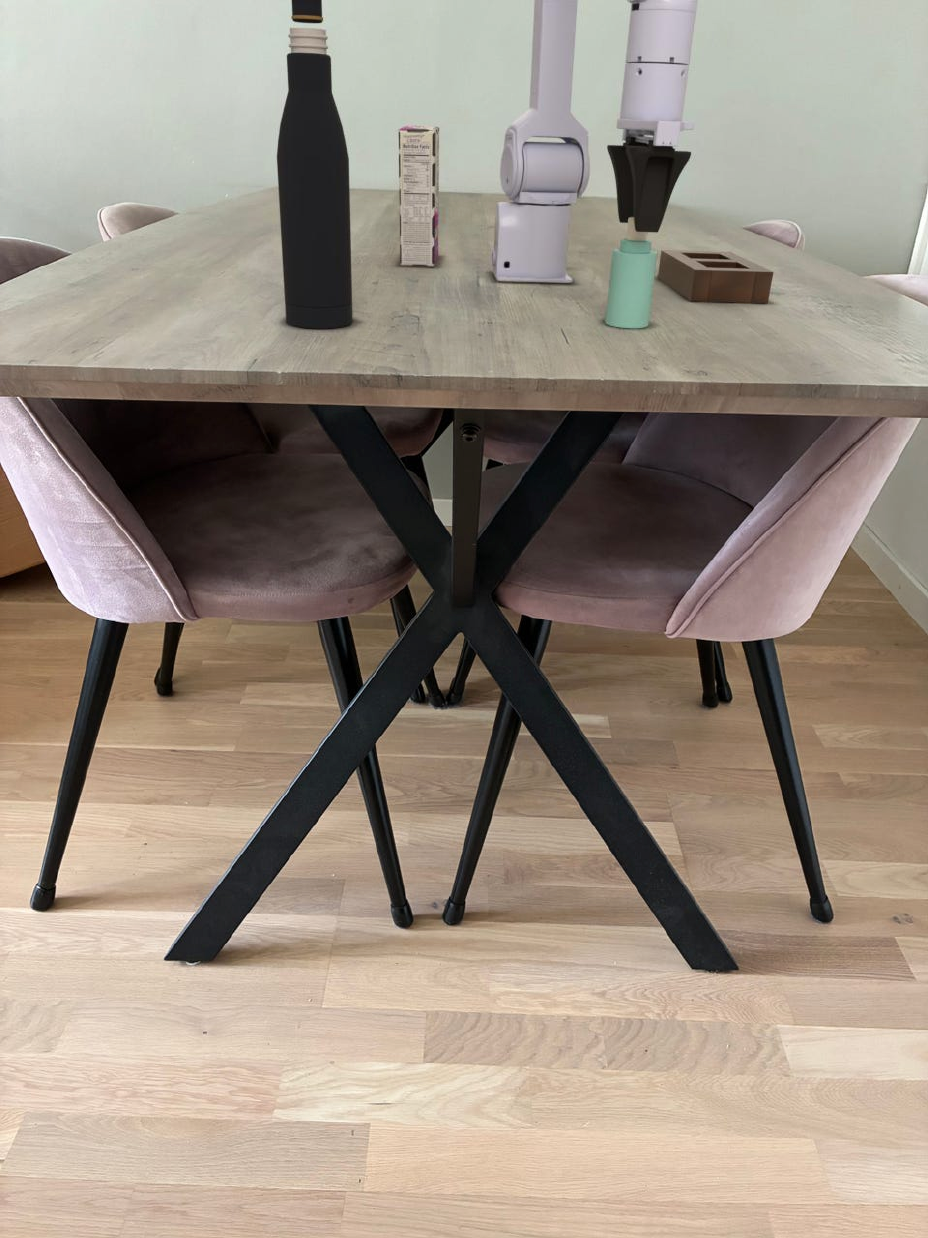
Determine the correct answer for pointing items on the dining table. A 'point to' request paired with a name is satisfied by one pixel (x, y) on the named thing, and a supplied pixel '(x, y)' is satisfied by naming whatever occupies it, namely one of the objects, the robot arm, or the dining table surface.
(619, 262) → the small bottle
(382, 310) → the dining table surface
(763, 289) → the peg block
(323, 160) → the black bottle
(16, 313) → the dining table surface
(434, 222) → the candy bar box
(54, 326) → the dining table surface
